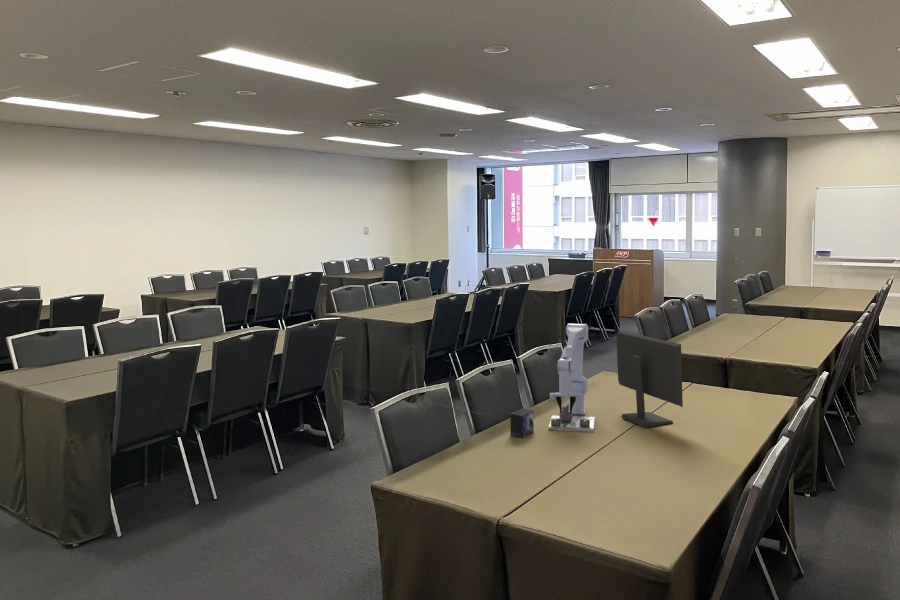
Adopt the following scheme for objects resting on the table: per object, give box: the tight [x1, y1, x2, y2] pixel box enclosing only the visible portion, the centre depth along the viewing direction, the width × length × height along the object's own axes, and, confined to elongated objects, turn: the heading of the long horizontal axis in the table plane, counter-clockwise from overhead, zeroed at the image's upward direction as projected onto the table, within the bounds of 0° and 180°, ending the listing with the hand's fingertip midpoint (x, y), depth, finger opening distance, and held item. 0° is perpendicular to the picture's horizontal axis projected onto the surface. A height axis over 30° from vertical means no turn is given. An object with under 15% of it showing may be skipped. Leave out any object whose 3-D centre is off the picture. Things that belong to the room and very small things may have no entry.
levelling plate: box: [548, 414, 596, 433], centre depth 313 cm, size 18×20×4 cm
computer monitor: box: [616, 330, 684, 429], centre depth 313 cm, size 44×16×40 cm, turn 22°
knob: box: [558, 402, 573, 421], centre depth 317 cm, size 6×12×7 cm, turn 159°
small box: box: [509, 407, 534, 439], centre depth 301 cm, size 11×6×10 cm, turn 143°
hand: (565, 412), depth 315 cm, fingers open, 4 cm apart
